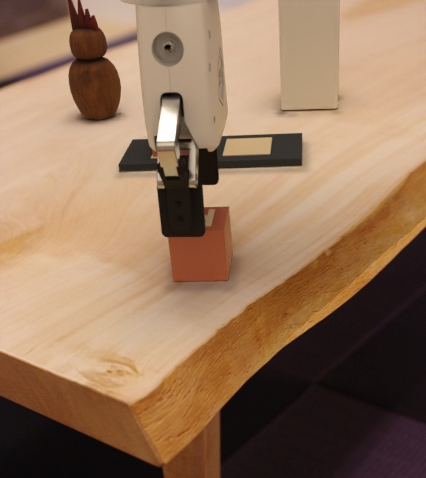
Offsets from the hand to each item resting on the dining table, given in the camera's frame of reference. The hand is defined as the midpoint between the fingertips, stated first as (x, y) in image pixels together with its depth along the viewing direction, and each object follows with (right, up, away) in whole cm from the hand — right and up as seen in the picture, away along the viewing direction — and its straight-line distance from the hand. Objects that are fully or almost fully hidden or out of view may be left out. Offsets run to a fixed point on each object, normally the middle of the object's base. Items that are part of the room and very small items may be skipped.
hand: (192, 207), depth 59 cm
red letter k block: (+1, -4, +3) cm, 6 cm away
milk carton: (+14, +20, +39) cm, 46 cm away
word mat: (+2, +10, +25) cm, 27 cm away
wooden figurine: (-14, +18, +41) cm, 47 cm away
